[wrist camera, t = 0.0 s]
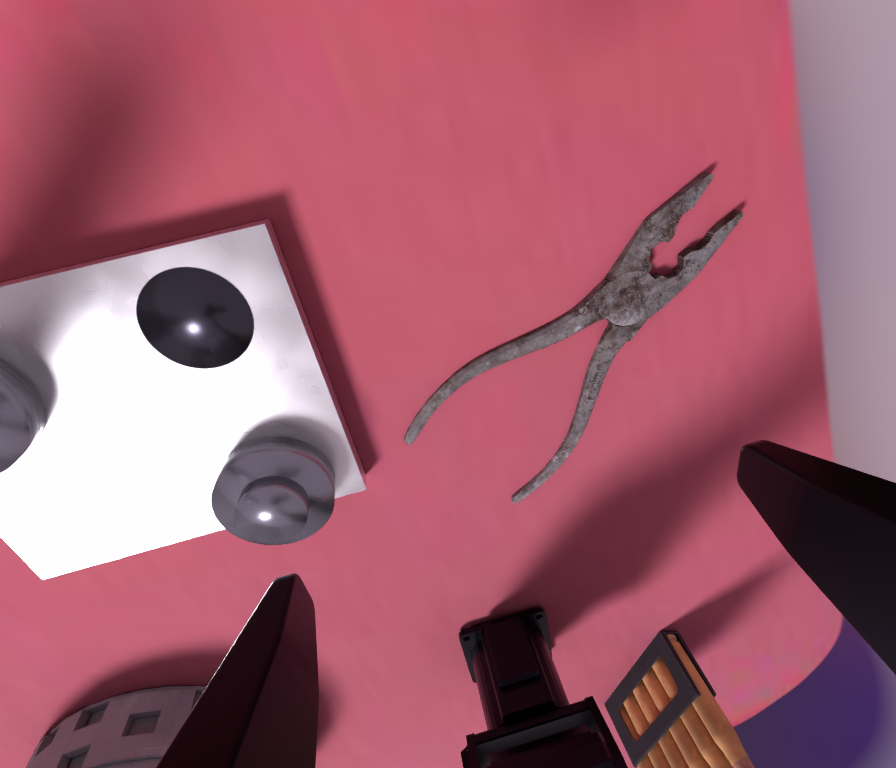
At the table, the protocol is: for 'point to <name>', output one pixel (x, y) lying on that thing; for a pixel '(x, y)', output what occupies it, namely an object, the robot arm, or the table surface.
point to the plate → (157, 392)
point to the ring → (119, 730)
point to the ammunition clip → (673, 712)
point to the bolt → (18, 414)
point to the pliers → (604, 315)
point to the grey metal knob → (274, 491)
